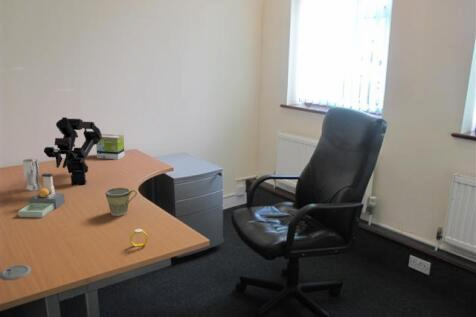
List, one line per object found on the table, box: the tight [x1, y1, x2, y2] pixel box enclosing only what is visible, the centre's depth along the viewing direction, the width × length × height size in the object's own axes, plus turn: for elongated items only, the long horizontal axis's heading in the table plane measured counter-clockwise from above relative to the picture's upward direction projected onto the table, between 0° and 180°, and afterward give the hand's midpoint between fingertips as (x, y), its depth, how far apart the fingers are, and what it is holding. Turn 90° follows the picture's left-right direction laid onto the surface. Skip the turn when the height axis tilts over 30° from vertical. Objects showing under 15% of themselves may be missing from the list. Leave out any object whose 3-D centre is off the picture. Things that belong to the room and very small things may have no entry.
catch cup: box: [17, 203, 55, 218], centre depth 181 cm, size 10×10×2 cm
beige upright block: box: [41, 173, 56, 195], centre depth 189 cm, size 2×4×9 cm, turn 86°
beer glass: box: [22, 158, 41, 192], centre depth 210 cm, size 7×7×15 cm
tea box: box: [95, 133, 125, 161], centre depth 275 cm, size 15×10×15 cm
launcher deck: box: [28, 191, 66, 210], centre depth 189 cm, size 8×12×6 cm, turn 86°
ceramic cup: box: [105, 187, 138, 217], centre depth 180 cm, size 13×10×10 cm
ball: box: [38, 188, 49, 198], centre depth 186 cm, size 4×4×4 cm
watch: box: [129, 228, 149, 248], centre depth 150 cm, size 6×3×6 cm, turn 108°
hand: (60, 167), depth 201 cm, fingers open, 3 cm apart
